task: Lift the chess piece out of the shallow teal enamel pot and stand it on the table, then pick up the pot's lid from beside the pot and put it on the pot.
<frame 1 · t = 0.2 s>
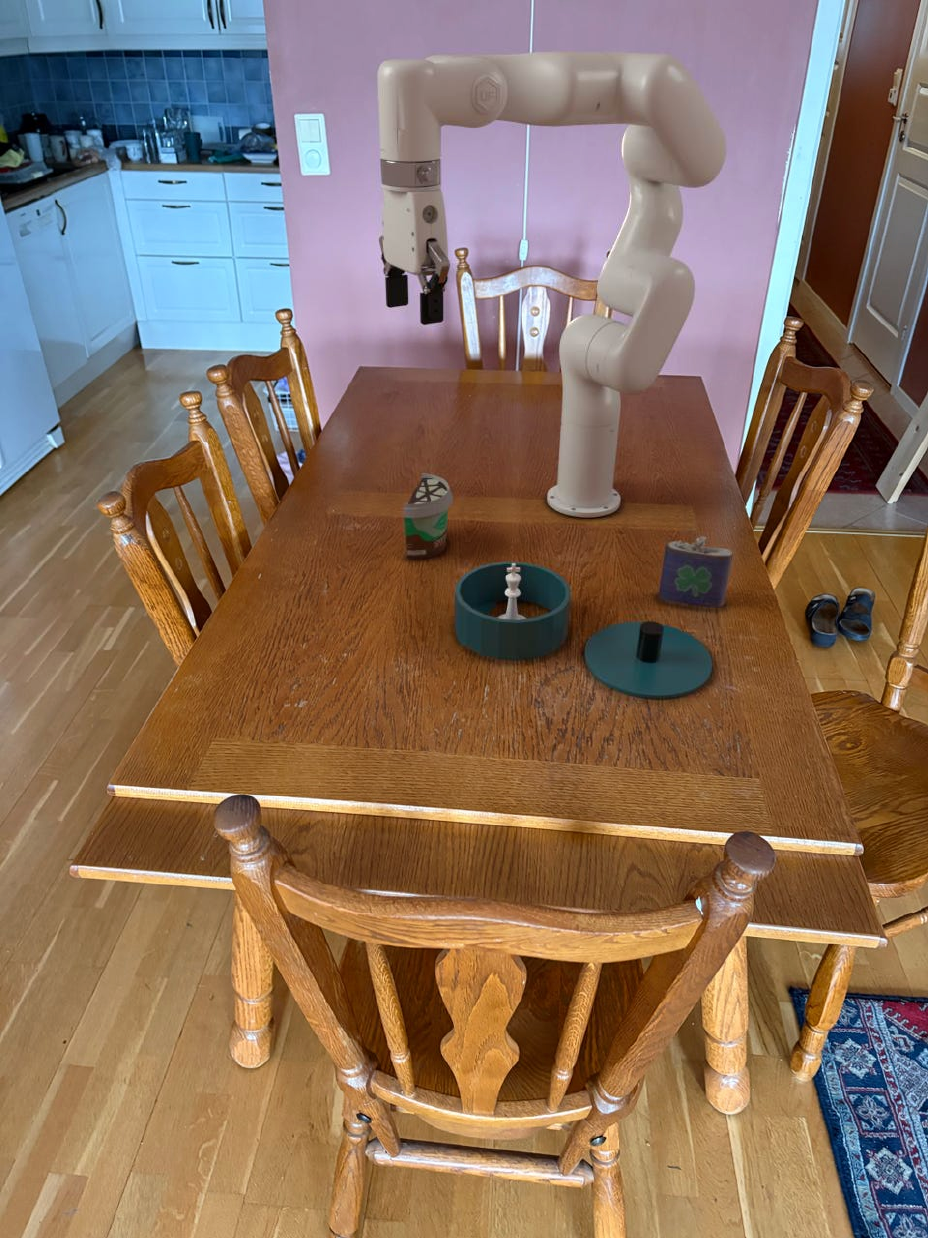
hand: (414, 314, 124), 37 cm above the table, tool pointing down, fingers open, 9 cm apart
chess piece: (511, 628, 126), resting on pot
flask: (689, 604, 132), on the table
pot: (511, 630, 126), on the table
pot lid: (647, 659, 119), point 1 cm above the table
food container: (433, 547, 146), on the table
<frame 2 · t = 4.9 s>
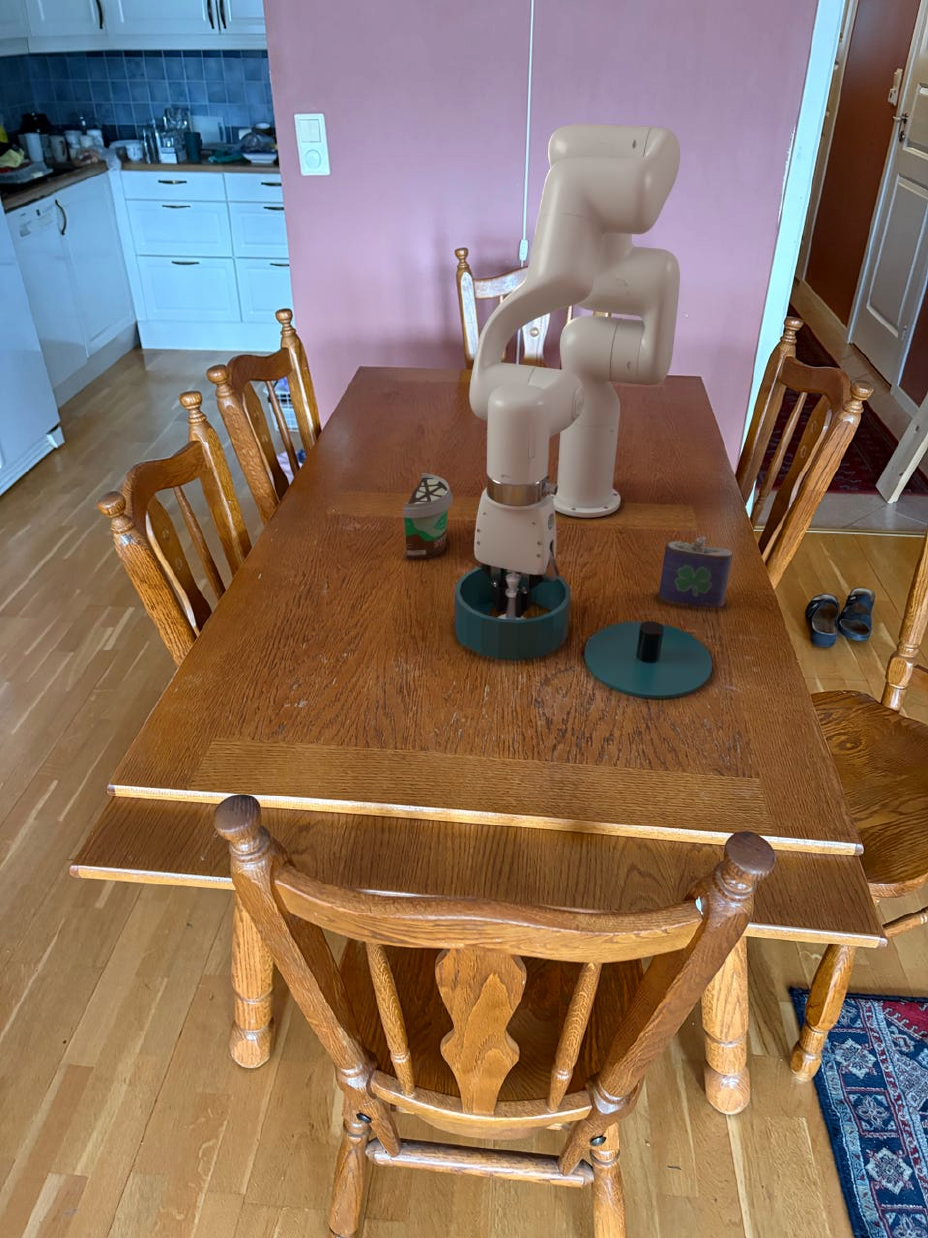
hand: (512, 609, 124), 3 cm above the table, tool pointing down, fingers closed on chess piece
chess piece: (511, 628, 126), resting on pot, touching gripper
everything else where it was.
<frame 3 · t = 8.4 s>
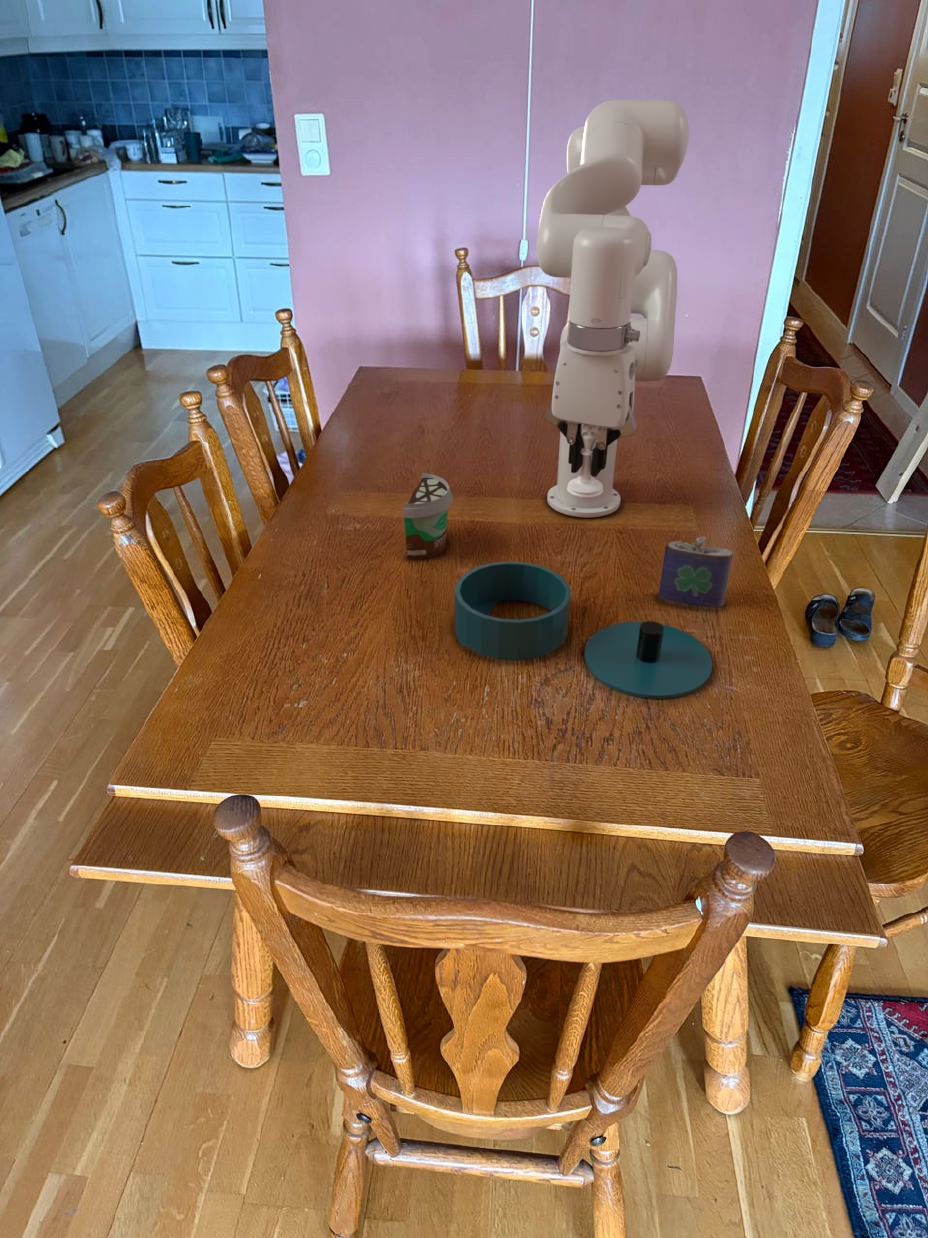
hand: (586, 470, 124), 19 cm above the table, tool pointing down, fingers closed on chess piece
chess piece: (584, 490, 126), point 16 cm above the table, touching gripper
everything else where it was.
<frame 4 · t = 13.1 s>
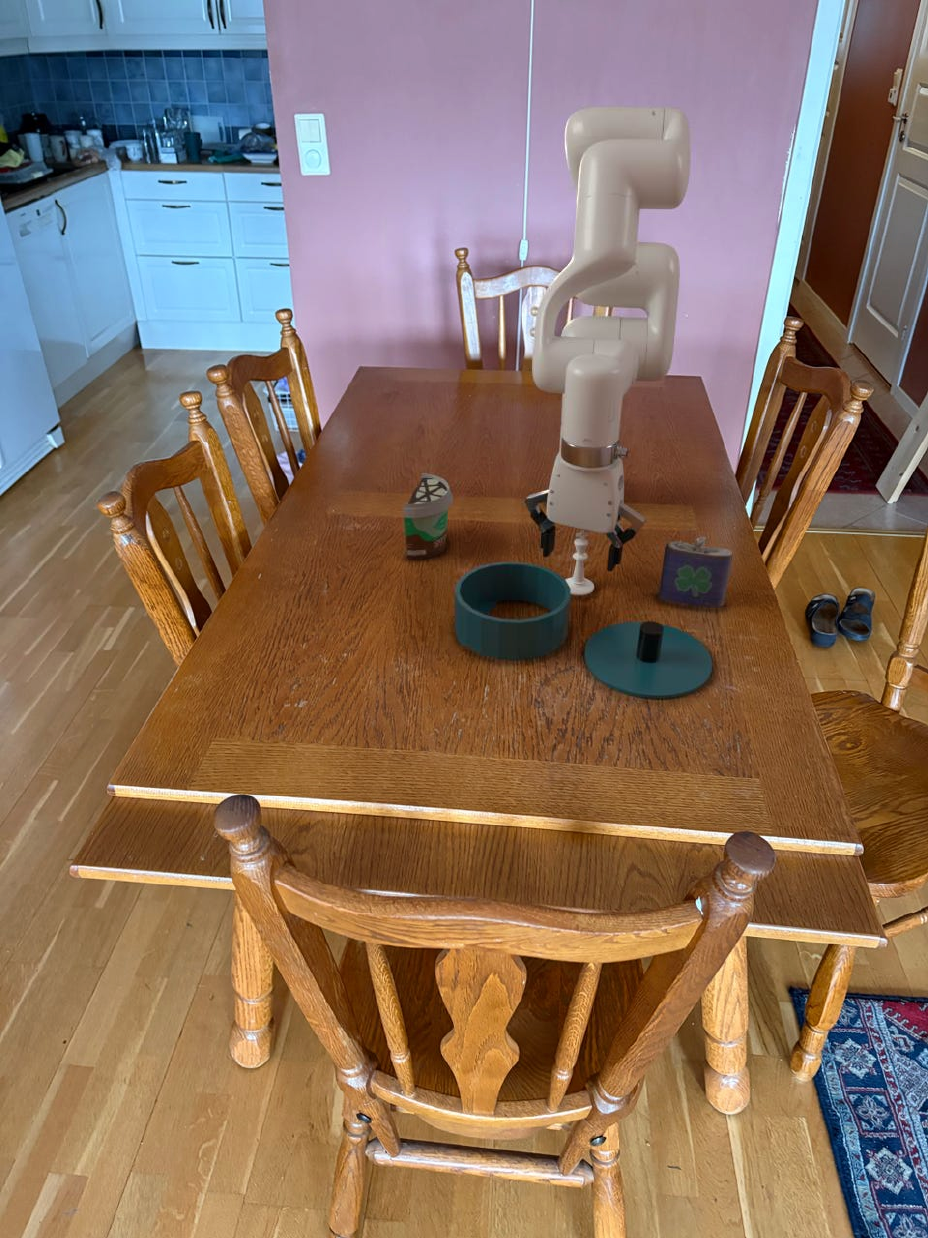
hand: (579, 559, 133), 5 cm above the table, tool pointing down, fingers open, 9 cm apart
chess piece: (577, 590, 135), on the table
everything else where it was.
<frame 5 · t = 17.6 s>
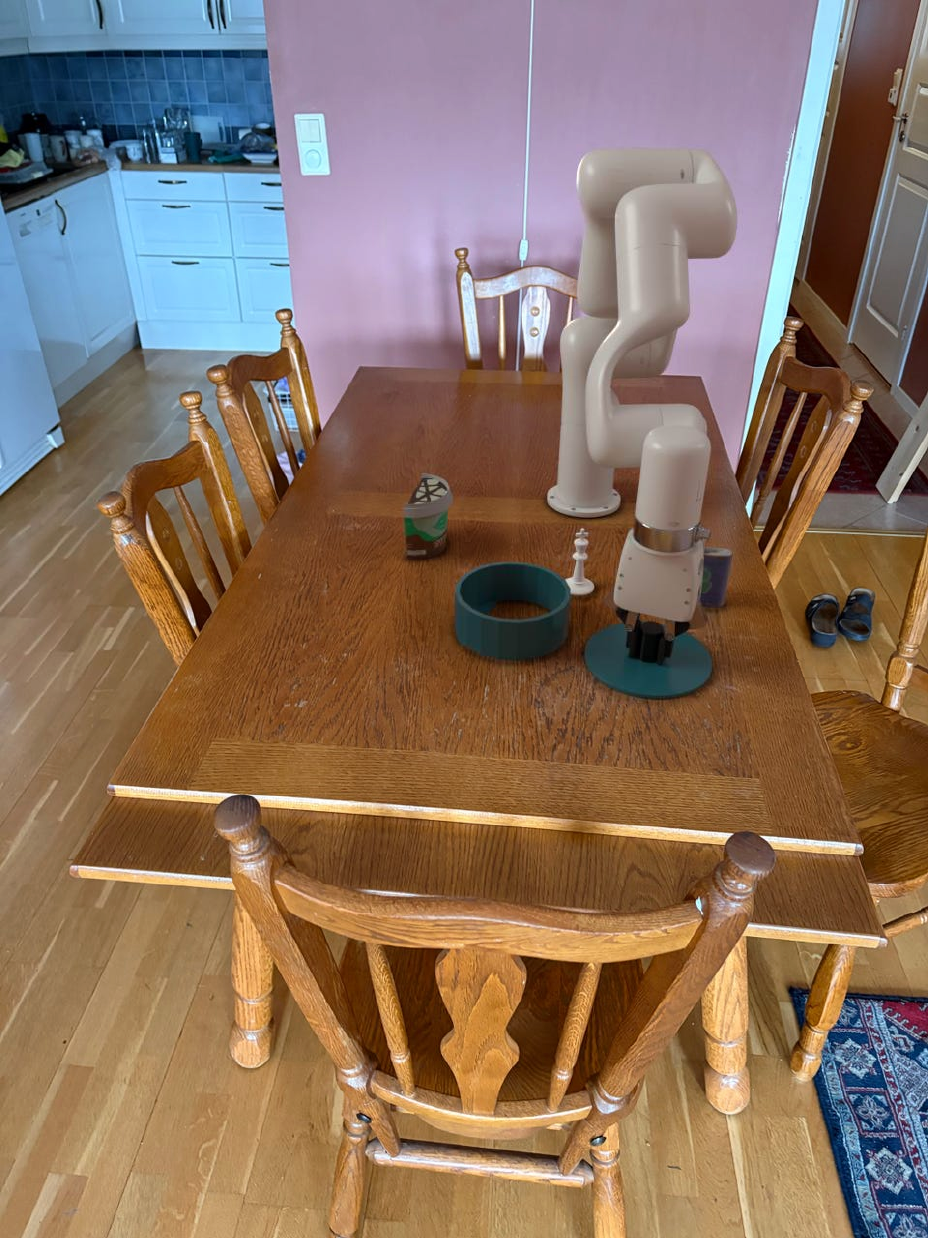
hand: (648, 654, 119), 1 cm above the table, tool pointing down, fingers closed on pot lid, 3 cm apart
pot lid: (647, 659, 119), point 1 cm above the table, touching gripper
everything else where it was.
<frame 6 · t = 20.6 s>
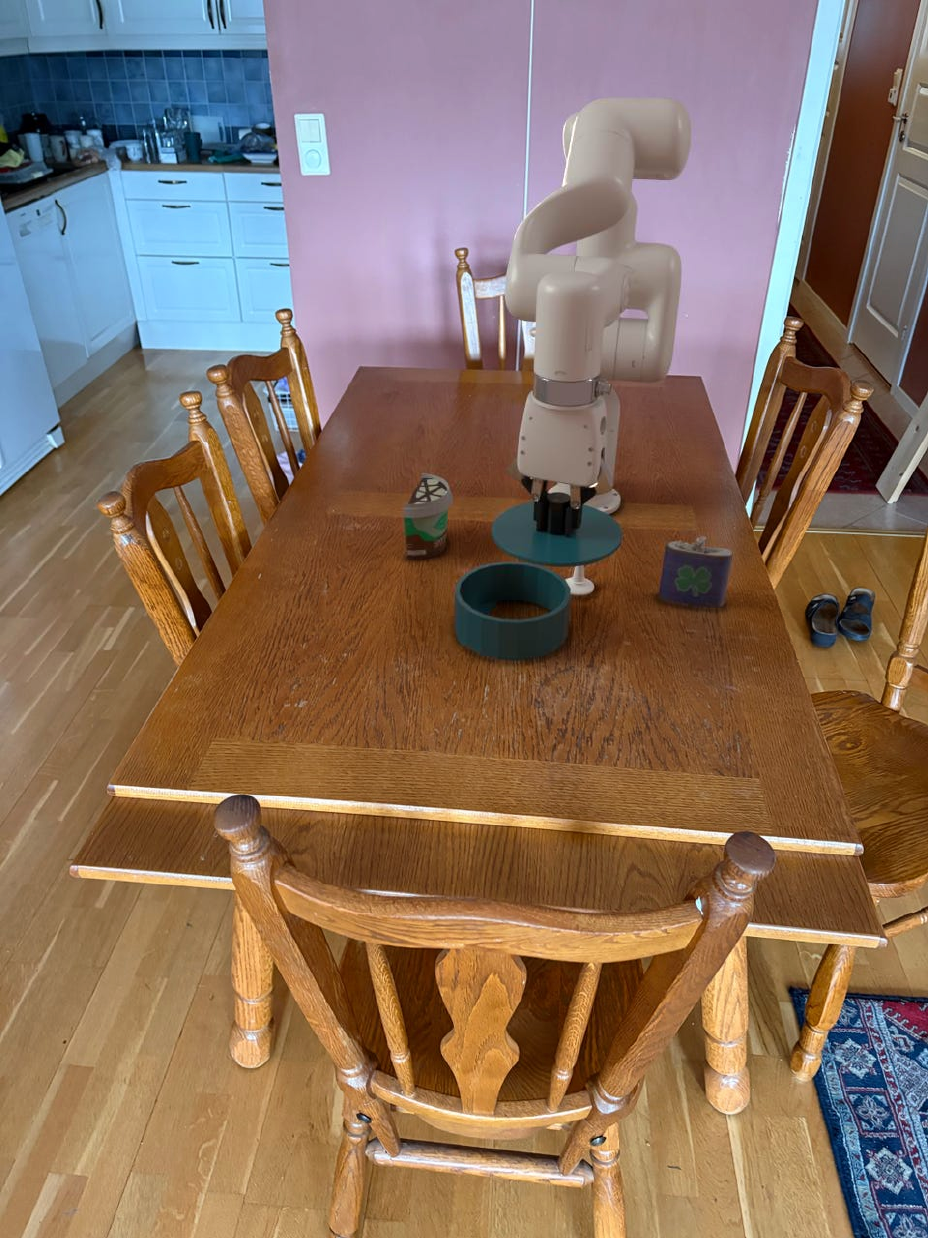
hand: (556, 528, 115), 17 cm above the table, tool pointing down, fingers closed on pot lid, 3 cm apart
pot lid: (556, 533, 115), point 16 cm above the table, touching gripper
everything else where it was.
when the fingers open (7 cm above the table, at t = 23.7 s): pot lid stays where it is, resting on pot.
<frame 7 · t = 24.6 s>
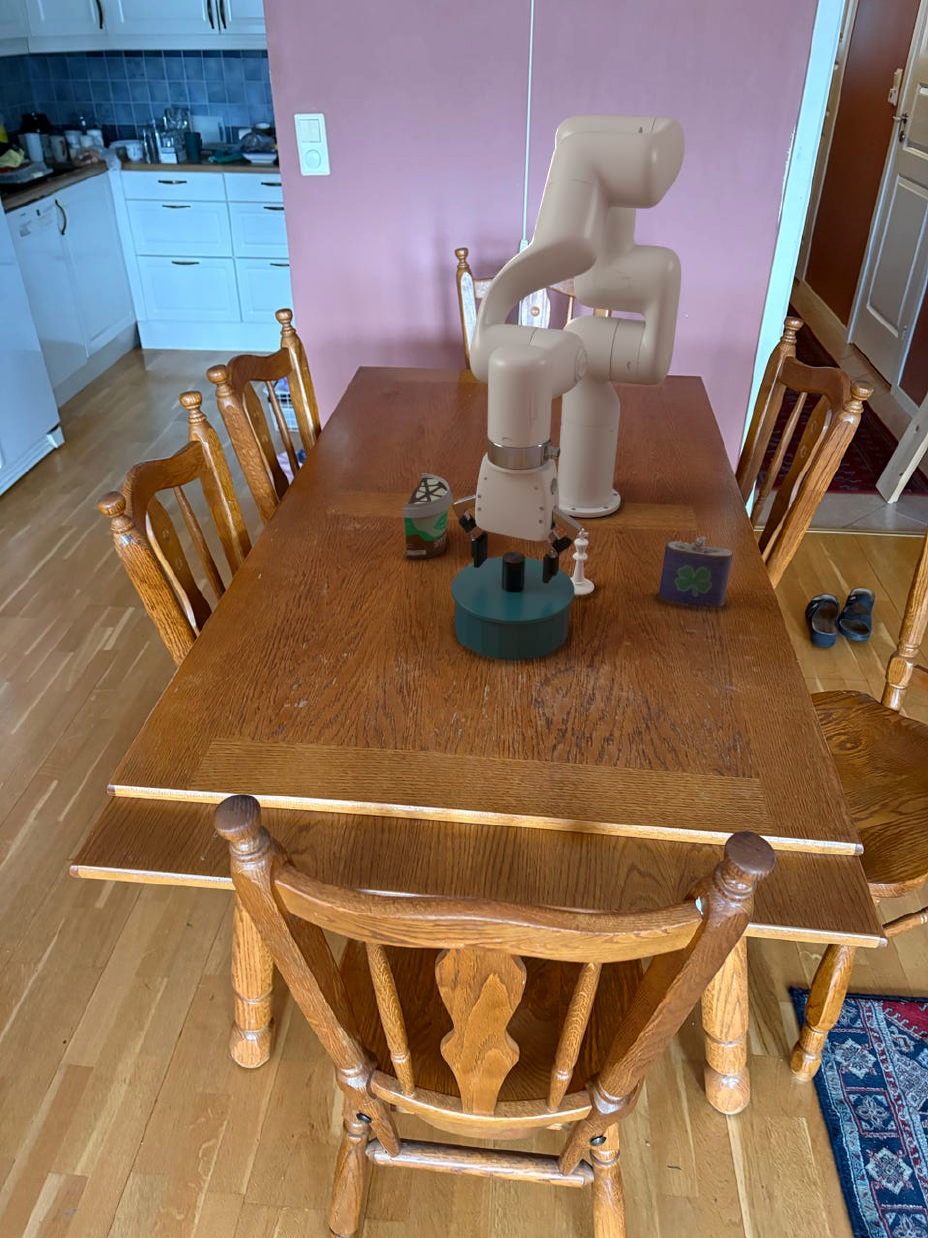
hand: (514, 570, 121), 9 cm above the table, tool pointing down, fingers open, 9 cm apart
pot lid: (512, 590, 122), point 6 cm above the table, touching pot
everything else where it was.
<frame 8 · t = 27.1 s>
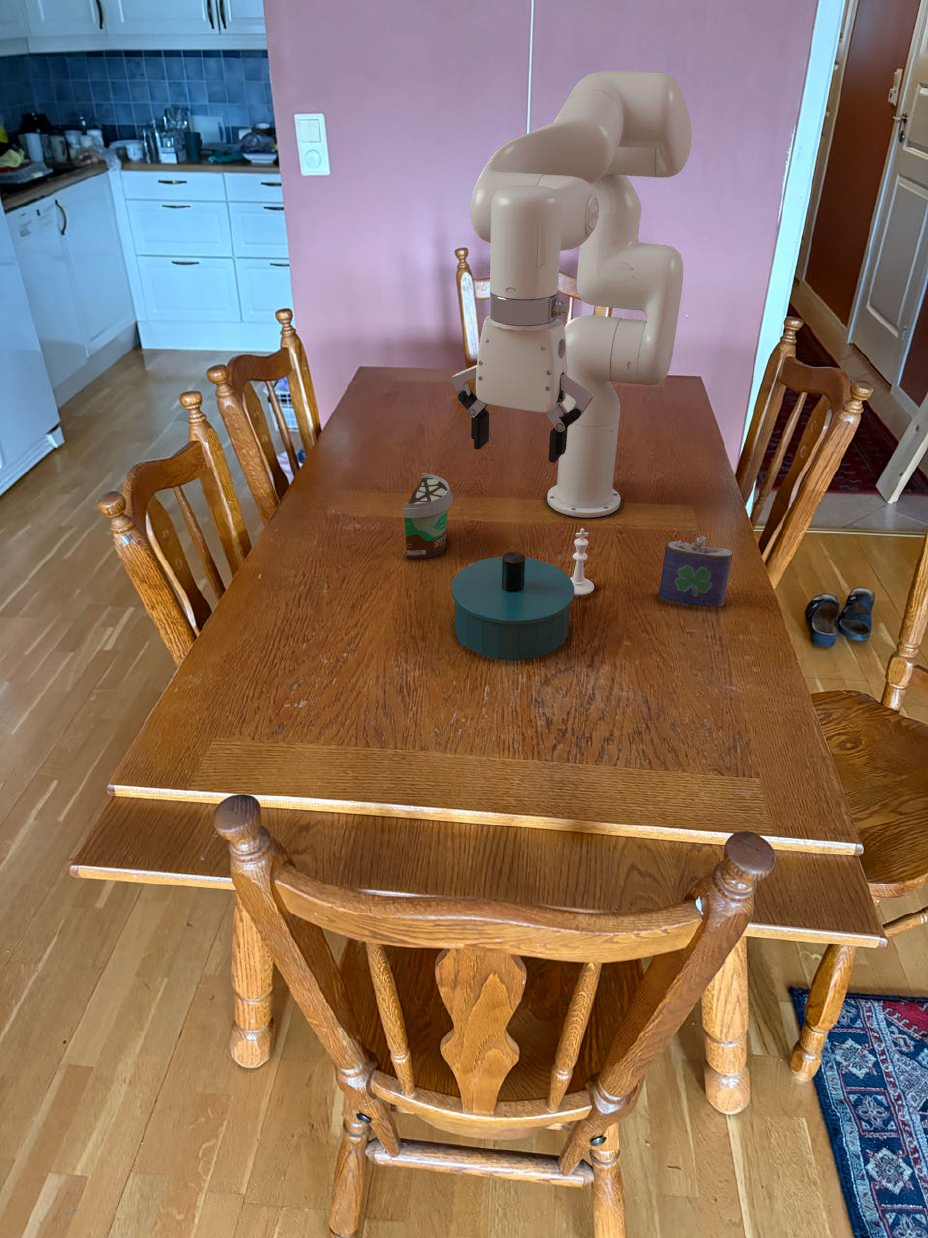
hand: (517, 451, 111), 26 cm above the table, tool pointing down, fingers open, 9 cm apart
nothing on the table moved.
at the end: chess piece inside the target area (0.1 cm from its centre), on the table; chess piece tilted 0°; pot lid 0.1 cm off-centre on the pot, point 6.5 cm above the pot's base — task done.
